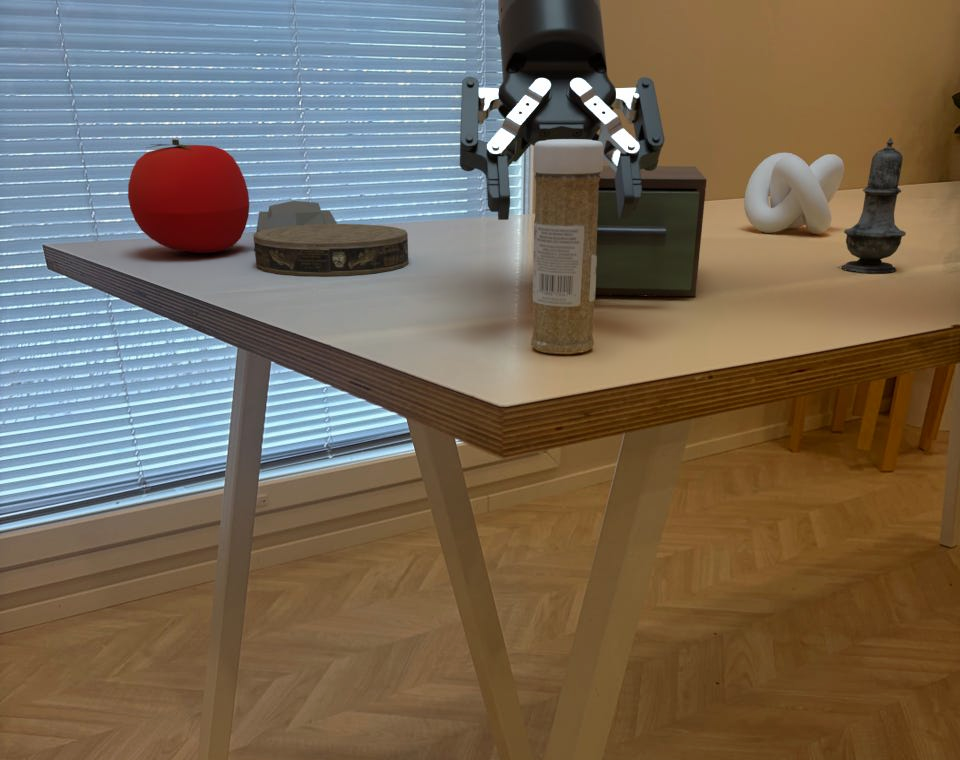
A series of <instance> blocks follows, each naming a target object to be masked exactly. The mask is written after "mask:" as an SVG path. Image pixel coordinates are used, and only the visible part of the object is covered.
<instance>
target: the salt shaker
mask: <svg viewBox="0 0 960 760" xmlns="http://www.w3.org/2000/svg"><path fill="white" fill-rule="evenodd" d="M886 144H887V145H886V147H884V148H883V149H880V150H878V151H876V152H875V153H873V156H872V158H871V162H870V163H871V164H870V170H869V175H868V180H867V186H866V187H864V188H863V189H862V192H863V193H864V201H863V205H862V206H863V207H862V212H861V215H860V216H859V219H858V222H857V223H856V224H855V225H853V226H852V227H850V228H846V229H844V231H843V233H844V234H845V235H846V238H845V243H846V248H847V251H848V252H849V253H850V255H852V256H854V257H856V258H858V260H851V261H847V262H846V263H844V264H842V265H841V267H842V268H843V269H842V268H841V269H842V270H844V269H846V270H845V271H847V270H850V271H849V272H852V271H856V272H855V273H861V272H862V273H863V274H890V273H895V272H896V271H897V268H896V267H895V266H893V264H892V263H889V262H885V261H882V260H883V259H887V258H890V257H891V256H892V255H894V254H895V253H896V252H897V251H898V250H899V247H900V245H901V243H902V238H903V237H905V236H906V234H907V232H906V231H904V230H901V229H900V228H899V227H898V226H897V225H896V223H895V210H896V204H897V198H898V195H899V193H902V190H901V189H900V188H899V182H900V178H901V172H902V166H903V160H904V159H903V158H904V157H903V154H902V153H901V152H900V151H899V150H897V149H895V147H893V144H894V140H893V139H892V137H890V138H889V139H888V140H887V141H886Z"/></svg>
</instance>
